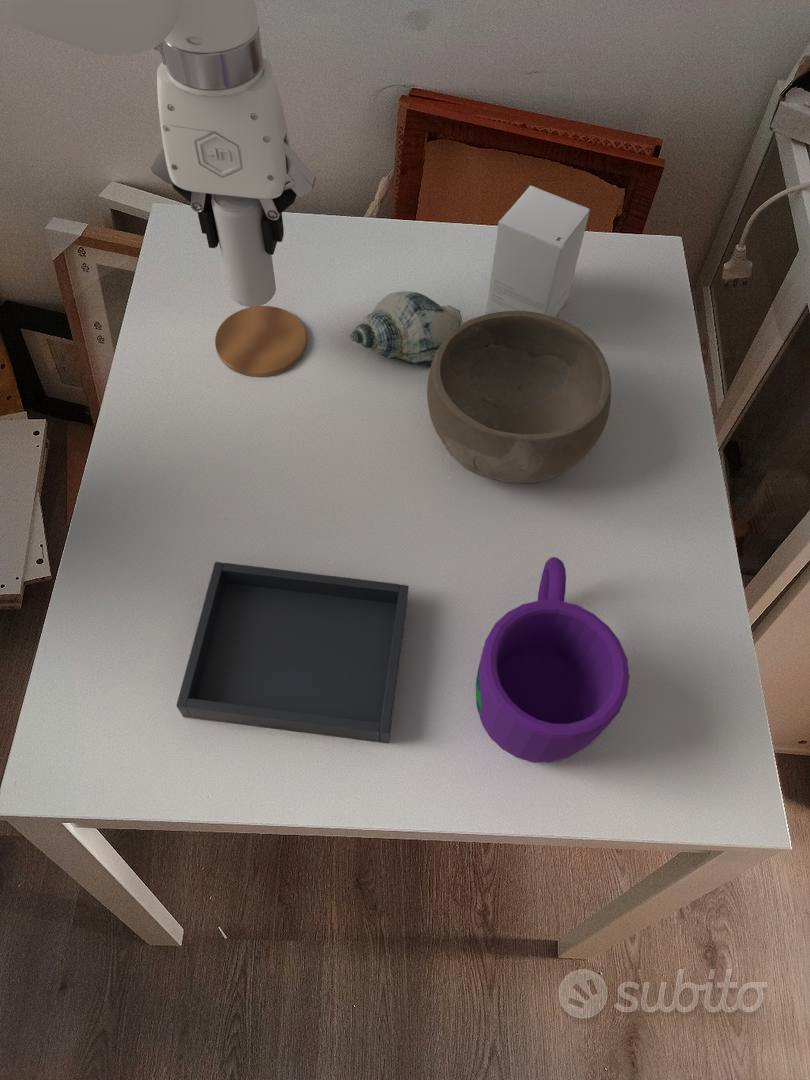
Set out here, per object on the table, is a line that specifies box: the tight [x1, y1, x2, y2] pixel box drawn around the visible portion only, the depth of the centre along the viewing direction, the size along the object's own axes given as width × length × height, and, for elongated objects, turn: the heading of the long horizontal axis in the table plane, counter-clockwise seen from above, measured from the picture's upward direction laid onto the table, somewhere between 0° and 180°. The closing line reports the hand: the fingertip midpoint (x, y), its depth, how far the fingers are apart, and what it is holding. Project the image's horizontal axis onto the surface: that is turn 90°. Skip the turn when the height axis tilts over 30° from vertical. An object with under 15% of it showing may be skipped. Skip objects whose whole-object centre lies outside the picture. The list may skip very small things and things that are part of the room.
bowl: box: [426, 311, 612, 484], centre depth 82 cm, size 17×18×10 cm
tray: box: [176, 561, 409, 744], centre depth 72 cm, size 18×14×3 cm
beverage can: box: [211, 194, 277, 308], centre depth 80 cm, size 5×5×12 cm
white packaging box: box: [485, 184, 591, 318], centre depth 90 cm, size 7×7×13 cm
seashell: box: [349, 290, 463, 366], centre depth 89 cm, size 6×8×12 cm
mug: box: [475, 556, 630, 764], centre depth 69 cm, size 17×11×10 cm, turn 172°
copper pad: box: [214, 305, 308, 377], centre depth 91 cm, size 10×10×1 cm
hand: (244, 240), depth 80 cm, fingers closed on beverage can, 4 cm apart
